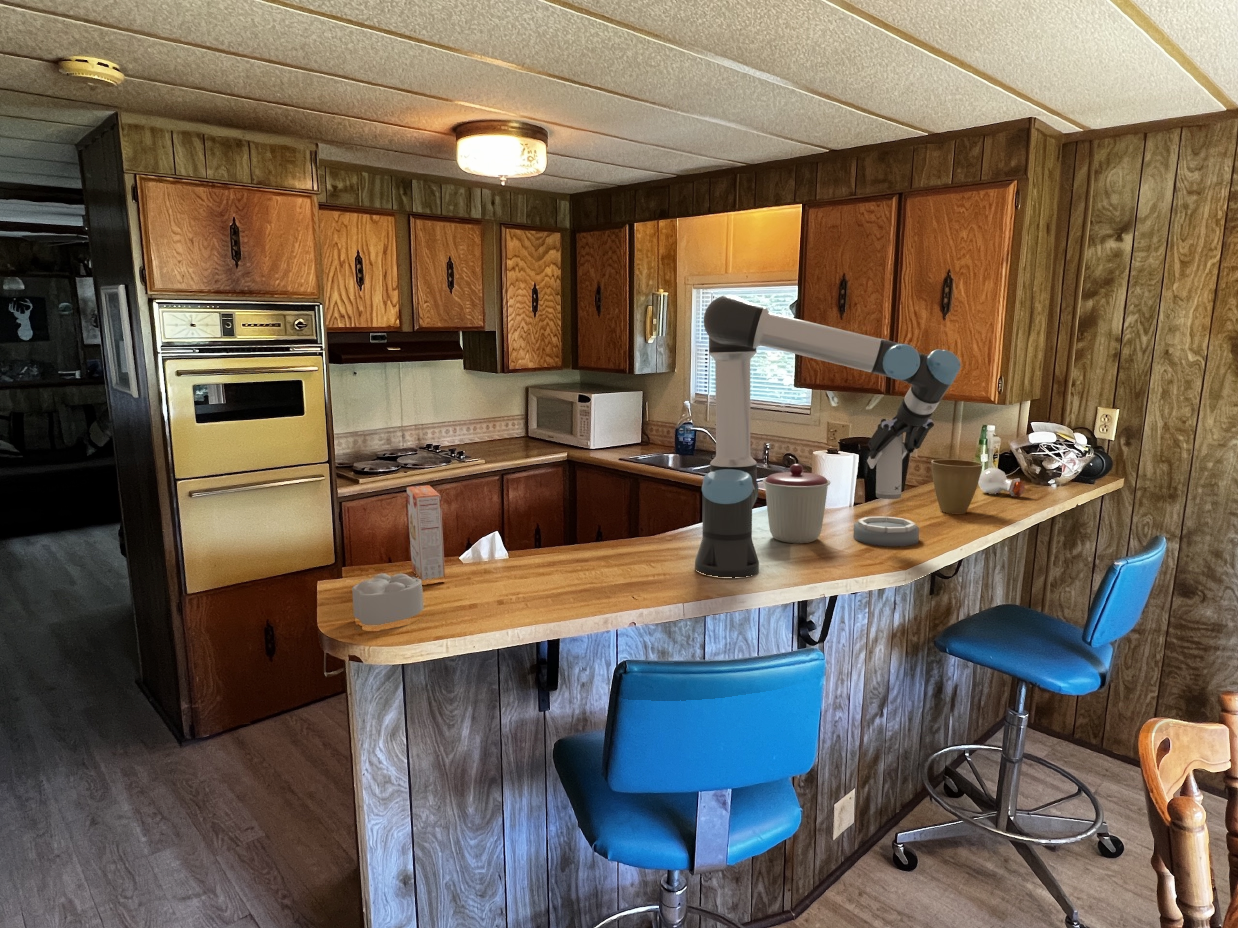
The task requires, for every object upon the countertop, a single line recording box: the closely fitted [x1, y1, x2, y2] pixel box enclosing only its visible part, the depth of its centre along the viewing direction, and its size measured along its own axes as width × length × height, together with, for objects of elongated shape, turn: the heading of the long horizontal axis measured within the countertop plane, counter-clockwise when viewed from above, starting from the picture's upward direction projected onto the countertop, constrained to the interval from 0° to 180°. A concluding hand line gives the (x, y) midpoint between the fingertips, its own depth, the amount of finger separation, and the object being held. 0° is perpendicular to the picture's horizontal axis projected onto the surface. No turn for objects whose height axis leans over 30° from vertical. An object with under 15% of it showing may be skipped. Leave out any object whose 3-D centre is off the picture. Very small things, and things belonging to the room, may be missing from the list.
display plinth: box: [852, 516, 920, 548], centre depth 211 cm, size 17×17×5 cm
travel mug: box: [875, 423, 904, 500], centre depth 200 cm, size 6×7×20 cm
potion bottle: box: [978, 467, 1026, 498], centre depth 271 cm, size 9×10×15 cm
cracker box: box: [406, 484, 446, 580], centre depth 180 cm, size 14×6×21 cm, turn 23°
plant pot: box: [930, 459, 984, 515], centre depth 244 cm, size 15×15×16 cm
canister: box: [762, 463, 831, 544], centre depth 211 cm, size 18×18×21 cm
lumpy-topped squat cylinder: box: [351, 573, 424, 625], centre depth 152 cm, size 10×13×9 cm
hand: (882, 463), depth 204 cm, fingers closed on travel mug, 6 cm apart
